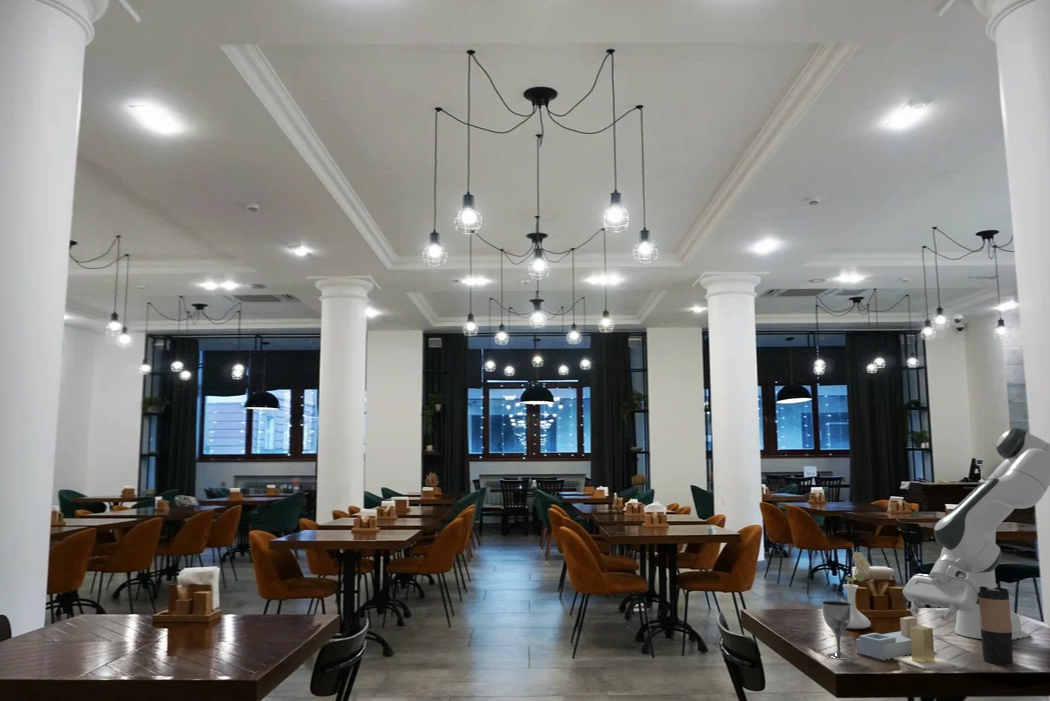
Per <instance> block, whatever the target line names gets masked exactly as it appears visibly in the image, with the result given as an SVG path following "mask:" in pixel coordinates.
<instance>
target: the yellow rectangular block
mask: <svg viewBox="0 0 1050 701" xmlns="http://www.w3.org/2000/svg"><path fill="white" fill-rule="evenodd" d="M910 639H911V655H910V656H912V660H913V661H917V662H921V663H925V664H926V663H930V662H934V661H935V658H936V657H935V649H934V648H935V647H934V646H935V645H934V643H935V642H934V630H933V627H928V626H924V625H917V626H914V627H910Z"/></svg>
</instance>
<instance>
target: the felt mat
mask: <svg viewBox="0 0 1050 701" xmlns="http://www.w3.org/2000/svg"><path fill="white" fill-rule="evenodd" d="M892 659H893V660H894V659H895V660H894V661H896V660H898V661H897V662H899V661H900V662H899V663H902V662H904V663H903V664H905V663H907V664H906V665H908V664H910V665H909V666H911V665H913V666H912V667H914V666H917V667H919V668H922V669H926V670H934V669H944V668H945V669H946V668H954V667H953V666H956V663H952V662H950V661H946V660H943V659H940V658H937V657H935V661H934V662H930V663H926V664H925V663H921V662H917V661H913V660H912V655H907V656H902V657H893V658H892ZM917 667H916V668H917ZM919 668H918V669H919ZM922 669H921V670H922Z"/></svg>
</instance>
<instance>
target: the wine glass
mask: <svg viewBox="0 0 1050 701" xmlns="http://www.w3.org/2000/svg"><path fill="white" fill-rule="evenodd" d="M821 608H822V609H821V610H822V616H823V618H824V621H825V623H826V626H828V628H829V629H830V630H831V631H832V632H833V634H834V637H835V640H836V650H837V651H836V652H829V653H826V654H827V656H829V657H833V658H850V657H851V656H852V655H849V654H847V653H843V652H841V651H842V650H841V636H842V634H843V633H844V632H845V630H846V629H848V628H847V626H848V625H849V623H850V619H851V603H848V601H845V600H844V601H843V600H823V601H821ZM827 656H826V657H827ZM829 657H828V658H829ZM833 658H832V659H833Z"/></svg>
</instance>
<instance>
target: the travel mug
mask: <svg viewBox="0 0 1050 701" xmlns="http://www.w3.org/2000/svg"><path fill="white" fill-rule="evenodd" d="M978 594H979V612H980V628H981V639H980V640H981V648H982V657H983V658H982V659H983V661H984V660H985V661H984V662H987V663H989V664H993V663H994V665H1000V664H1011V663H1014V660H1013V659H1014V656H1013V655H1014V654H1013V652H1014V651H1013V640H1012V628H1011V616H1010V610H1011V606H1010V592H1009V589H1008V588H1004V587H998V586H996V588H994V589H989V588H987V587H980V592H979V593H978ZM1011 665H1012V664H1011Z"/></svg>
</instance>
